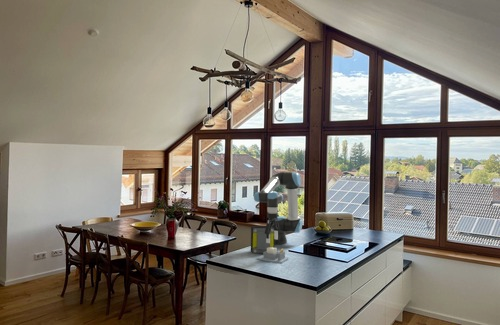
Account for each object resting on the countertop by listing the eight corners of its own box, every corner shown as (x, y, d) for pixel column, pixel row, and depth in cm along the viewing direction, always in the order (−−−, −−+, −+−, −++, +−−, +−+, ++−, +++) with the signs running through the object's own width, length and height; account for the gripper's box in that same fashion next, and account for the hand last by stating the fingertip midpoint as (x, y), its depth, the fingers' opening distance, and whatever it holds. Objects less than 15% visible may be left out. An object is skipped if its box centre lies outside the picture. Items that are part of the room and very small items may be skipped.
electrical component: (252, 253, 288) (253, 228, 288) (250, 250, 298) (250, 226, 298) (274, 253, 291) (274, 228, 291) (271, 250, 301) (271, 225, 301)
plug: (269, 256, 276) (269, 246, 276) (276, 257, 273) (276, 247, 273) (266, 257, 272) (266, 247, 272) (273, 258, 269) (274, 248, 269)
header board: (264, 255, 282) (264, 244, 282) (288, 259, 273) (288, 248, 273) (257, 259, 272) (257, 247, 272) (281, 263, 262) (282, 251, 262)
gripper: (275, 210, 285) (274, 237, 286) (260, 214, 263) (259, 243, 264) (283, 210, 282) (283, 238, 282) (269, 215, 260) (269, 245, 260)
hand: (272, 241), depth 273 cm, fingers open, 13 cm apart
